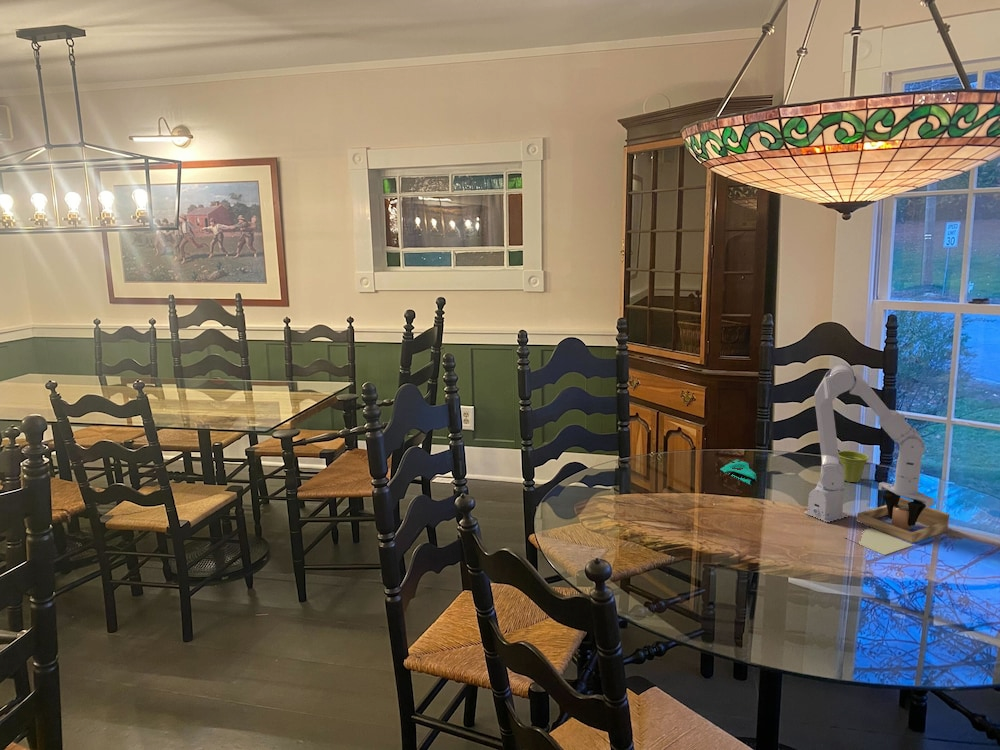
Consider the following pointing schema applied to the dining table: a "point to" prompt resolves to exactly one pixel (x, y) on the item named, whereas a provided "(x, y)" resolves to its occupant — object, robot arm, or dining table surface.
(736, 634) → the dining table surface
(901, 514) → the terracotta pot
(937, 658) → the dining table surface
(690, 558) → the dining table surface
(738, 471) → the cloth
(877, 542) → the potting mat
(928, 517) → the cold frame
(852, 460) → the plant pot
